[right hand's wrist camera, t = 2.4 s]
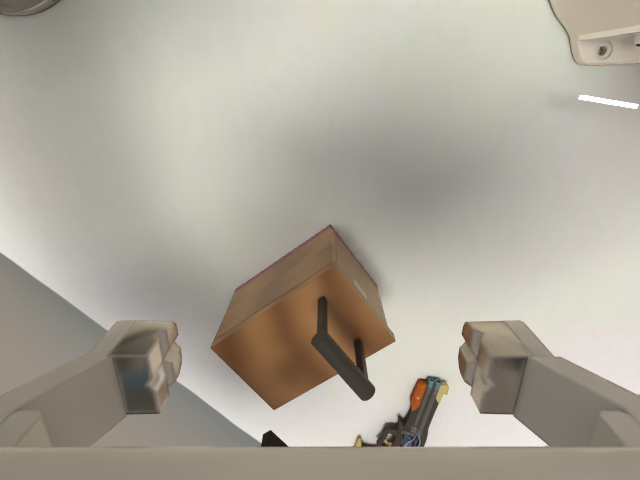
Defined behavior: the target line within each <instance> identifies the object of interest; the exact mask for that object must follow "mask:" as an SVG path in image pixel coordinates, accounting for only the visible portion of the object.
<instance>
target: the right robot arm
mask: <svg viewBox="0 0 640 480" xmlns="http://www.w3.org/2000/svg"><path fill="white" fill-rule="evenodd" d="M550 3H551V6H552V8H553V11H554V13H555V15H556V16H557V18H558V20H559V21H560V22H561V24H562V25H563V26H564V28H565V29H566V31H567V32H568V35H569V37H570V44H571V50H572V54H573V57H574V60H575V61H576V62H577V63H578V64H580V65H611V64H640V0H550ZM600 47H601V48H602V53H601V54H600V55H599V54H598V50H599V48H600ZM579 99H582V100H588V101H594V102H600V103H606V104H612V105H618V106H624V107H630V108H637V107H638V105H637V104H631V103H625V102H619V101H613V100H607V99H602V98H596V97H590V96H582V95H580V96H579ZM177 336H178V331H177V326H176V324H175V323H174V322H173V321H136V320H129V321H118V322H116V323H115V324H114V325H113V326H112V327H111V329H110V330H109V331H108V332H107V333H106V334H105V335H104V337H103V338H102V339H101V340H100V341H99V342H98V343H97V344H96V345H95V347H94V348H93V349H92V350H91V351H90V352H89V353H88V355H87V356H86V357H78V358H76V359H74V360H72V361H70V362H68V363H66V364H64V365H62V366H60V367H58V368H56V369H54V370H52V371H50V372H48V373H46V374H44V375H42V376H40V377H38V378H36V379H34V380H32V381H29V382H27V383H25V384H23V385H21V386H19V387H17V388H15V389H13V390H11V391H9V392H7V393H5V394H3V395H1V396H0V480H640V396H639V395H637V394H635V393H633V392H631V391H629V390H627V389H625V388H623V387H621V386H619V385H617V384H614V383H612V382H610V381H608V380H606V379H604V378H602V377H600V376H598V375H596V374H594V373H592V372H590V371H588V370H586V369H584V368H582V367H580V366H578V365H576V364H574V363H572V362H570V361H568V360H566V359H564V358H562V357H554V356H553V354H552V353H551V352H550V351H549V350H548V349H547V348H546V347H545V345H544V344H543V343H542V342H541V341H540V340H539V339H538V338H537V336H536V335H535V334H534V333H533V332H532V331H531V330H530V329H529V327H528V326H527V325H526V324H525V323H524V322H522V321H520V320H512V321H482V322H465V324H464V326H463V330H462V336H463V337H464V339H465V341H466V342H465V343H464V344H463V345H462V346H461V347H460V348H459V356H458V361H459V369H460V373H461V376H462V378H463V380H464V382H466V383H467V384H468V385H470V386H471V387H472V389H471V396H472V398H473V400H474V402H475V404H476V406H477V408H478V410H479V412H480V414H514V415H513V416H514V417H515V418H516V419H518V420H519V421H520V422H521V423H522V424H524V425H525V426H526V427H527V428H528V429H530V430H531V431H532V432H533V433H534V434H536V435H537V436H538V437H539V438H540V439H542V440H543V441H544V442H545V443H546V444H548V445H549V446H550V447H90V446H91V445H92V444H94V443H95V442H96V441H97V440H98V439H100V438H101V437H102V436H103V435H104V434H106V433H107V432H108V431H109V430H111V429H112V428H113V427H114V426H115V425H117V424H118V423H119V422H120V421H121V420H122V419H124V418H125V417H126V416H127V415H126V414H159V413H160V412H161V410H162V408H163V406H164V404H165V402H166V400H167V398H168V396H169V389H168V387H169V386H170V385H172V384H173V383H174V382H176V380H177V378H178V375H179V373H180V368H181V364H182V354H181V348H180V347H179V346H178V345H177V344H176V343H175V342H174V341H175V339H176V337H177Z"/></svg>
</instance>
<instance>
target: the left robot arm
mask: <svg viewBox="0 0 640 480" xmlns="http://www.w3.org/2000/svg"><path fill="white" fill-rule="evenodd" d="M57 1H58V0H0V13H4V14H9V15H30V14H34V13H38V12H41V11H43V10H45V9H47V8H49V7H51V6H52V5H53V4H55V3H56V2H57ZM261 447H288V446H287V445H286V444H285V443H284V442H283V441H282V440H281V439H280V438H279V437H277V436H276V435H275V434H274V433H273V432H272V431H271V430H270V431H268V432H266V433H265V434H263V438H262V444H261Z"/></svg>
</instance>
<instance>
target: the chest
mask: <svg viewBox="0 0 640 480" xmlns="http://www.w3.org/2000/svg"><path fill="white" fill-rule="evenodd" d="M335 261H336V262H337V263H338V264H339V265H340V267H341V268H342V269H343V270H344V272H345V273H346V274H347V276H348V277H349V278H350V279H351V281H352V282H353V283H354V284H355V286H356V287H357V288H358V289H359V291H360V292H361V293H362V295H363V296H364V297H365V298H366V300H367V301H368V302H369V303H370V305H371V306H372V307H373V308H374V310H375V311H376V312H377V313H378V315H379V316H380V317H381V319H382V320H383V321H384V322H385V324H386V325H387V322H386V318H385V315H384V311H383V307H382V303H381V300H380V296H379V292H378V287H377V285H376V283H375V282H374V281H373V279H372V278H371V277H370V276H369V274H368V273H367V272H366V270H365V269H364V268H363V266H362V265H361V264H360V262H359V261H358V260H357V259H356V257H355V256H354V255H353V253H352V252H351V251H350V249H349V248H348V247H347V245H346V244H345V243H344V242H343V240H342V239H341V238H340V236H339V235H338V234H337V232H336V231H335V230H334V229H333V227H332V226H331V225H329V226H328V227H326V228H325V229H323V230H322V231H320V232H319V233H318V234H316V235H315V236H313V237H312V238H310V239H309V240H307V241H306V242H304V243H303V244H301V245H300V246H299V247H297V248H296V249H294V250H293V251H291V252H290V253H288V254H287V255H285V256H284V257H282V258H281V259H280V260H278V261H277V262H275V263H274V264H272V265H271V266H269V267H268V268H266V269H265V270H263V271H262V272H260V273H259V274H258V275H256V276H255V277H253V278H252V279H250V280H249V281H247V282H246V283H244V284H243V285H241V286H240V287H239V288H237V289H236V290H235V293H234V295H233V298H232V300H231V302H230V305H229V307H228V309H227V311H226V314H225V316H224V318H223V321H222V323H221V325H220V327H219V330H218V332H217V334H216V337H215V339H217V338H218V337H220V336H221V335H223V334H224V333H226V332H228V331H229V330H231V329H232V328H234V327H235V326H237V325H238V324H240V323H241V322H243V321H244V320H246V319H247V318H249V317H251V316H252V315H254V314H255V313H257V312H258V311H260V310H261V309H263V308H264V307H266V306H267V305H269V304H270V303H272V302H273V301H275V300H277V299H278V298H280V297H281V296H283V295H284V294H286V293H287V292H289V291H290V290H292V289H293V288H295V287H296V286H298V285H299V284H301V283H303V282H304V281H306V280H307V279H309V278H310V277H312V276H313V275H315V274H316V273H318V272H319V271H321V270H322V269H324V268H325V267H327V266H329V265H330V264H332V263H333V262H335ZM215 339H214V340H215Z"/></svg>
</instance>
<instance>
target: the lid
mask: <svg viewBox="0 0 640 480" xmlns="http://www.w3.org/2000/svg"><path fill="white" fill-rule="evenodd" d="M393 342H395V337H394V334H393V332H392V331H391V330H390V329H389V327H388V326H387V325H386V324H385V322H384V321H383V320H382V319H381V317H380V316H379V315H378V313H377V312H376V311H375V310H374V308H373V307H372V306H371V305H370V303H369V302H368V301H367V300H366V298H365V297H364V296H363V295H362V293H361V292H360V291H359V289H358V288H357V287H356V286H355V284H354V283H353V282H352V281H351V279H350V278H349V277H348V276H347V274H346V273H345V272H344V270H343V269H342V268H341V267H340V265H339V264H338V263H337V262H336V261H335V262H333V263H332V264H330V265H329V266H327V267H325V268H324V269H322V270H321V271H319V272H318V273H316V274H315V275H313V276H312V277H310V278H309V279H307V280H306V281H304V282H303V283H301V284H299V285H298V286H296V287H295V288H293V289H292V290H290V291H289V292H287V293H286V294H284V295H283V296H281V297H280V298H278V299H277V300H275V301H273V302H272V303H270V304H269V305H267V306H266V307H264V308H263V309H261V310H260V311H258V312H257V313H255V314H254V315H252V316H251V317H249V318H247V319H246V320H244V321H243V322H241V323H240V324H238V325H237V326H235V327H234V328H232V329H231V330H229V331H228V332H226V333H224V334H223V335H221V336H220V337H218V338H217V339H215V340H214V341H213V343H212V346H211V349H212V350H213V351H214V352H215V353H216V354H217V355H218V356H219V357H220V358H221V359H222V360H223V361H224V362H225V363H226V364H227V365H228V366H229V367H230V368H231V369H232V370H234V371H235V372H236V373H237V374H238V375H239V376H240V377H241V378H242V379H243V380H244V381H245V382H246V383H247V384H248V385H249V386H250V387H251V388H252V389H253V390H254V391H255V392H256V393H257V394H258V395H259V396H260V397H261V398H262V399H263V400H264V401H265V402H266V403H267V404H268V405H269V406H270V407H271V408H272V409H273V410H275V409H277V408H279V407H280V406H282V405H284V404H286V403H287V402H289V401H291V400H293V399H295V398H296V397H298V396H300V395H302V394H303V393H305V392H307V391H309V390H310V389H312V388H314V387H316V386H317V385H319V384H321V383H323V382H324V381H326V380H328V379H330V378H332V377H333V376H335V375H337V374H339V375H340V376H341V378H342V379H343V380H344V381H345V382H346V383H347V384H348V385H349V386H350V388H351V389H352V390H353V391H354V392H355V393H356V394H357V395H358V397H359V398H360V399H361V400H363V401H367V400H369V399H370V398H372V396H373V395H374V393H375V387H374V386H373V384H372V383H371V382H370V381H369V380H368V374H367V368H366V361H365V358H367V357H369V356H370V355H372V354H374V353H376V352H377V351H379V350H381V349H383V348H384V347H386V346H388V345H390V344H391V343H393ZM355 364H356V365H355Z"/></svg>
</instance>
